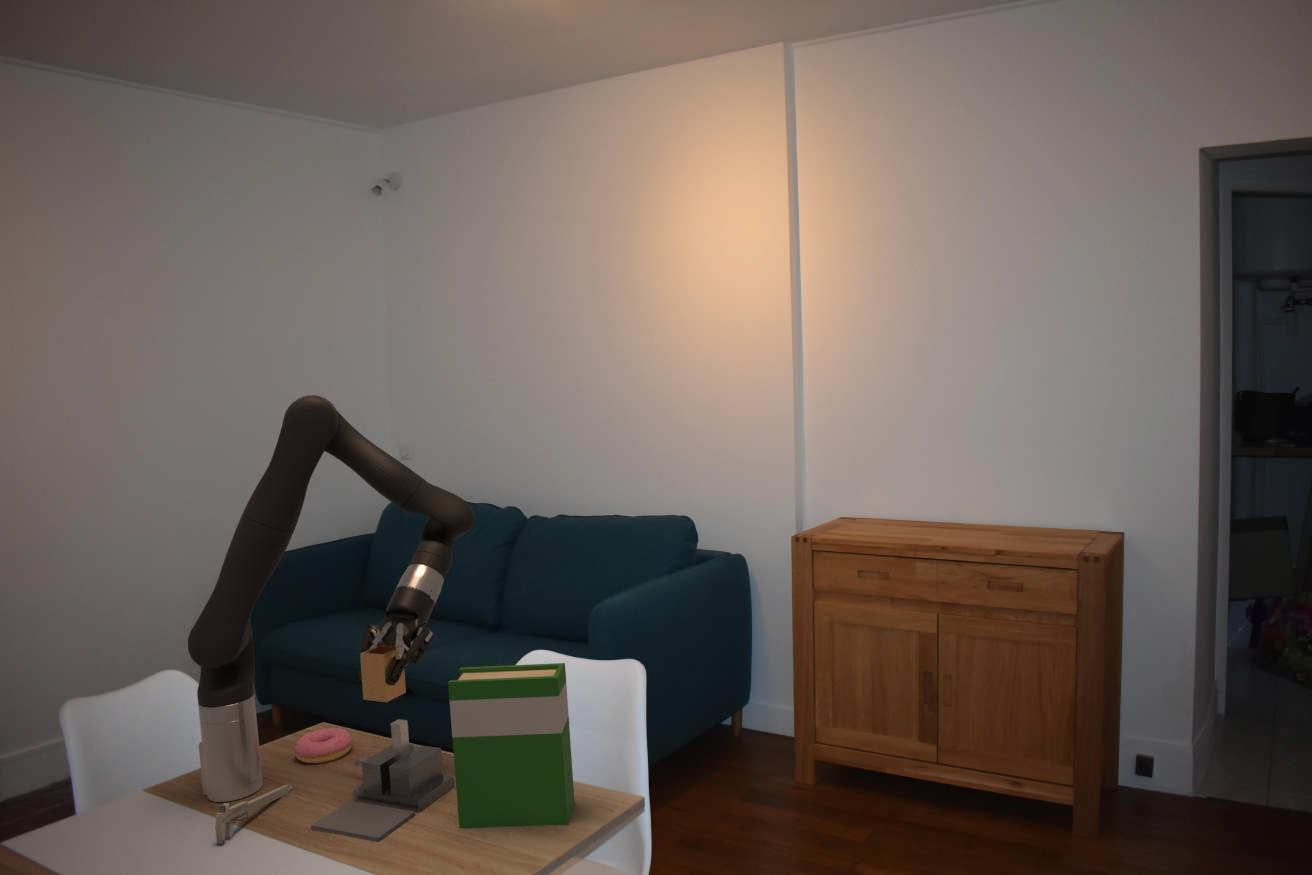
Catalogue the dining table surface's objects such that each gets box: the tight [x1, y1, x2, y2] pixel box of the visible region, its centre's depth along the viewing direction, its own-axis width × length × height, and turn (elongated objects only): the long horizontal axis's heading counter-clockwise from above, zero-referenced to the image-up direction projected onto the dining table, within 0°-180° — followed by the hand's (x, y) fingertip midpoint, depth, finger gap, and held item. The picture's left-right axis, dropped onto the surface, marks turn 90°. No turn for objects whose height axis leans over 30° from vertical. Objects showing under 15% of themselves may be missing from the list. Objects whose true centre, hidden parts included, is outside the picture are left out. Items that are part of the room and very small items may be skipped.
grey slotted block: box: [352, 718, 456, 813], centre depth 159 cm, size 17×10×13 cm, turn 67°
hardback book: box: [447, 662, 576, 829], centre depth 148 cm, size 18×7×24 cm, turn 87°
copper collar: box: [359, 644, 407, 703], centre depth 155 cm, size 5×5×8 cm
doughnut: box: [293, 727, 353, 764], centre depth 180 cm, size 11×11×4 cm
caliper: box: [214, 784, 294, 845], centre depth 155 cm, size 20×1×6 cm, turn 171°
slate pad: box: [310, 800, 416, 843], centre depth 150 cm, size 14×9×1 cm, turn 67°
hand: (376, 681), depth 154 cm, fingers closed on copper collar, 5 cm apart
